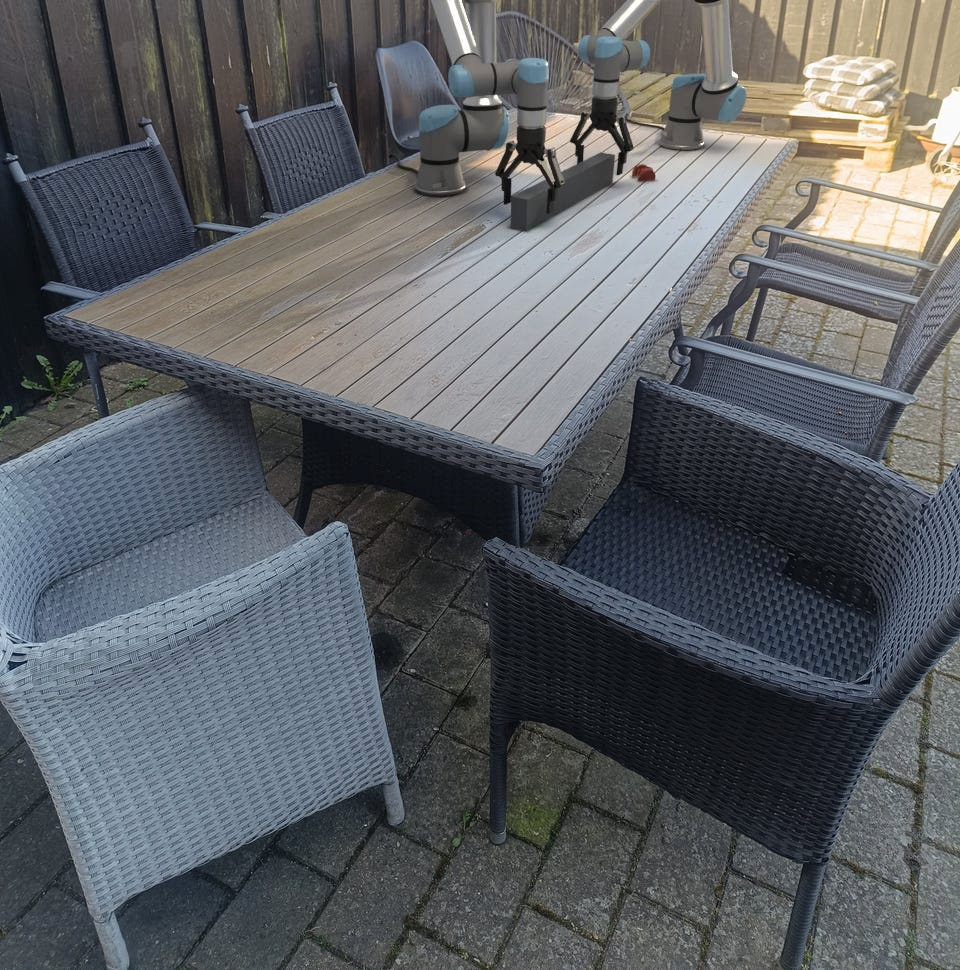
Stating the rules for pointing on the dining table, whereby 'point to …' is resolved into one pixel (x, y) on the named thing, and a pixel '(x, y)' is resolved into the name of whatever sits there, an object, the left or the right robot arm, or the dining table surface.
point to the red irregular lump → (643, 172)
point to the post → (562, 191)
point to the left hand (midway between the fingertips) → (528, 208)
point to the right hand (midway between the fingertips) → (599, 171)
